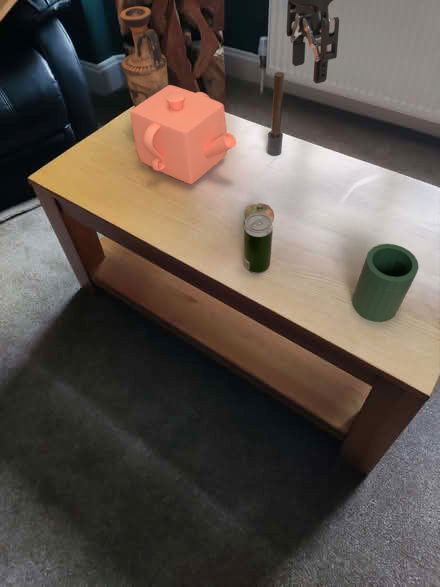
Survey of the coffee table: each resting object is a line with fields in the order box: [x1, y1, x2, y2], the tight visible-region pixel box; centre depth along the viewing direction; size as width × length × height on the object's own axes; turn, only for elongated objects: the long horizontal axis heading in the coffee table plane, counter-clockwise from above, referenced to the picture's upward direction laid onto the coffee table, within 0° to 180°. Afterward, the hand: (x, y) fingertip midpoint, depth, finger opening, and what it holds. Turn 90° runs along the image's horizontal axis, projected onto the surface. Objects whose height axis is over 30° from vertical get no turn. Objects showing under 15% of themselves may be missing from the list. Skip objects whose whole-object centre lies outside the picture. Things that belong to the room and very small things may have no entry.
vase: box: [119, 5, 169, 108], centre depth 107 cm, size 11×11×30 cm
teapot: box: [129, 84, 237, 185], centre depth 102 cm, size 25×23×18 cm
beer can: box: [243, 213, 274, 275], centre depth 84 cm, size 5×5×12 cm
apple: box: [243, 202, 275, 224], centre depth 93 cm, size 6×8×6 cm
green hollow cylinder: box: [351, 243, 419, 323], centre depth 77 cm, size 8×8×12 cm
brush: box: [266, 71, 285, 157], centre depth 104 cm, size 4×4×20 cm
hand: (308, 72), depth 79 cm, fingers open, 8 cm apart
